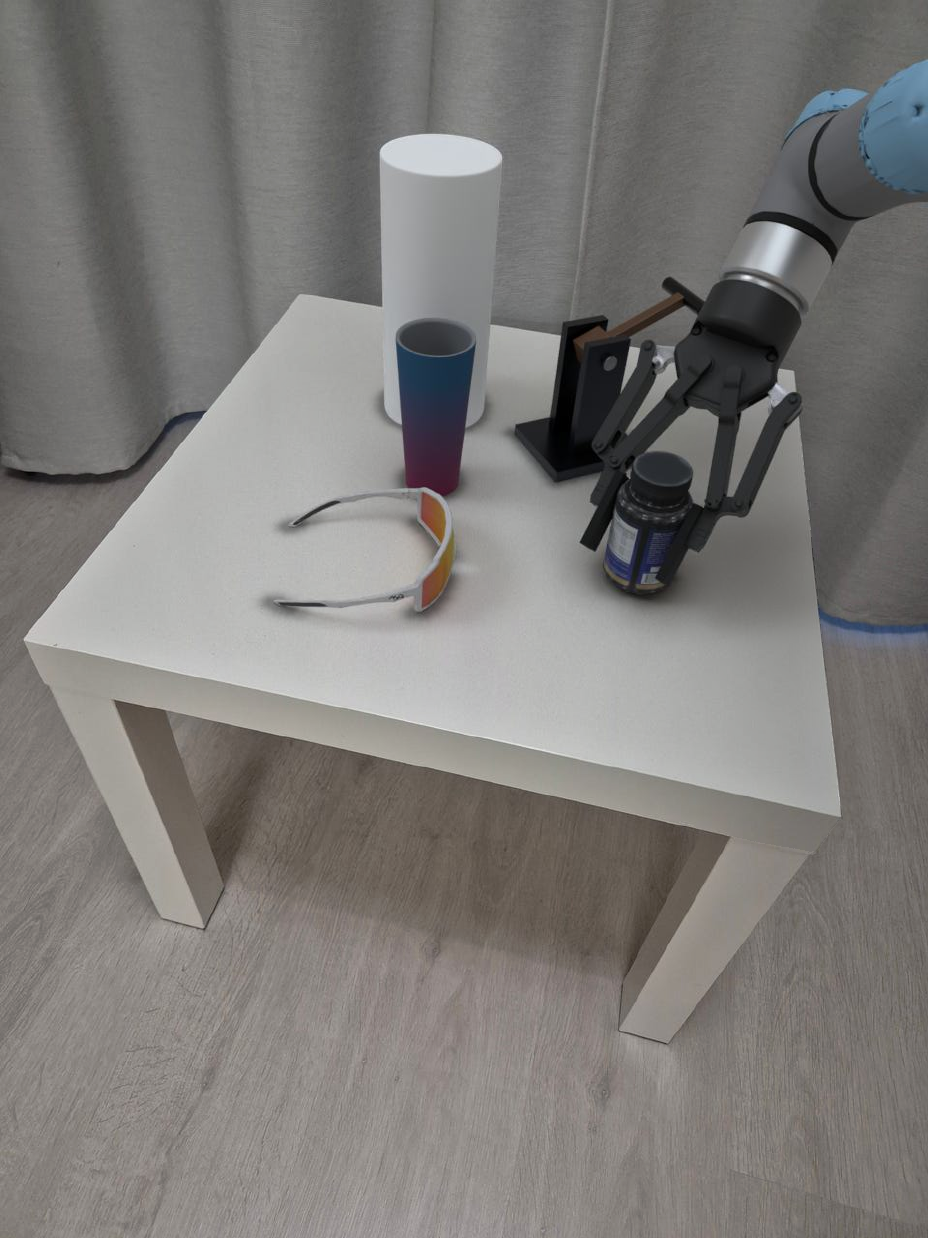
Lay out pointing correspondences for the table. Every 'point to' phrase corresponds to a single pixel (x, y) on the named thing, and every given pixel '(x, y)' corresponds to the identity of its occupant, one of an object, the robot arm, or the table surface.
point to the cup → (434, 399)
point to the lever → (646, 315)
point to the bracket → (578, 402)
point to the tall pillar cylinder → (438, 245)
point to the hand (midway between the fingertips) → (624, 564)
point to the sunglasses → (433, 579)
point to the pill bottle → (647, 520)
